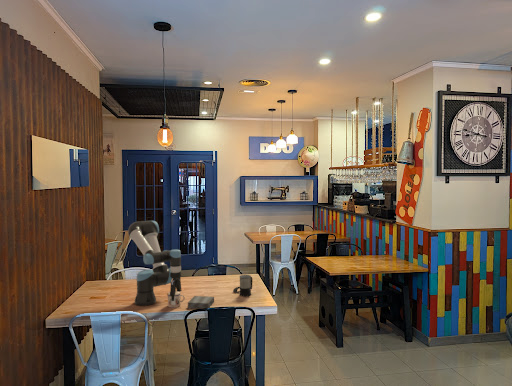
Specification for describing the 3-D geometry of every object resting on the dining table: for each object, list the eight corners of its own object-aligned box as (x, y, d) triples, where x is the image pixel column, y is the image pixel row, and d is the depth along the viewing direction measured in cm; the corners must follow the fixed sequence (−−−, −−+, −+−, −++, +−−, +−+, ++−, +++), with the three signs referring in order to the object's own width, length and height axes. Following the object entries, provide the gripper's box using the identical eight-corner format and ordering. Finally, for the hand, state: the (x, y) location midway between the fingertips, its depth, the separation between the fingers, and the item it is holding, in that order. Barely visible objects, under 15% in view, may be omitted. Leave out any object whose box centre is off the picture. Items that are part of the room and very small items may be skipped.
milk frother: (249, 297, 285) (249, 278, 285) (229, 295, 289) (229, 277, 288) (253, 291, 299) (253, 273, 299) (234, 290, 303) (234, 272, 302)
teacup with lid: (167, 308, 261) (167, 291, 261) (167, 304, 270) (167, 288, 270) (184, 307, 264) (184, 290, 263) (184, 302, 273) (184, 287, 272)
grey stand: (187, 308, 261) (187, 302, 261) (194, 301, 276) (194, 295, 276) (208, 309, 259) (208, 303, 259) (214, 302, 274) (214, 296, 274)
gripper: (175, 275, 254) (175, 308, 255) (185, 268, 276) (186, 298, 277) (164, 275, 255) (165, 307, 256) (176, 267, 277) (176, 297, 278)
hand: (175, 302), depth 266 cm, fingers closed on teacup with lid, 9 cm apart
